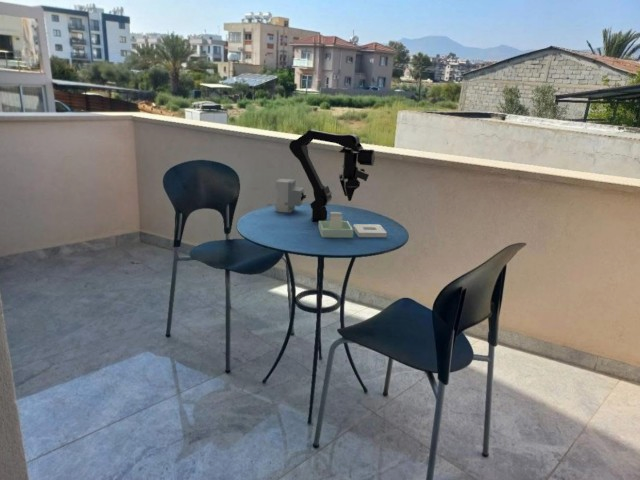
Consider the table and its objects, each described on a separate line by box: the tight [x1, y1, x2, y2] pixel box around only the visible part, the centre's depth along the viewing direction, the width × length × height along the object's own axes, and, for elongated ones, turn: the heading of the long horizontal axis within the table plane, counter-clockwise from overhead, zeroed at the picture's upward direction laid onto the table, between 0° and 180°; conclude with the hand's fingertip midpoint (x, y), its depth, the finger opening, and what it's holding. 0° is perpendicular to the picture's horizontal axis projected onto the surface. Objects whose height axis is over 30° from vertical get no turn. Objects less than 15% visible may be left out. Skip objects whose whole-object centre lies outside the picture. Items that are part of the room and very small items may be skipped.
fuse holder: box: [352, 223, 388, 238], centre depth 190 cm, size 12×12×2 cm
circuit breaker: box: [274, 178, 307, 214], centre depth 217 cm, size 8×14×15 cm, turn 78°
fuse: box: [328, 211, 344, 229], centre depth 187 cm, size 5×3×8 cm, turn 97°
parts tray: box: [318, 220, 355, 239], centre depth 188 cm, size 13×13×3 cm
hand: (347, 198), depth 198 cm, fingers open, 9 cm apart
